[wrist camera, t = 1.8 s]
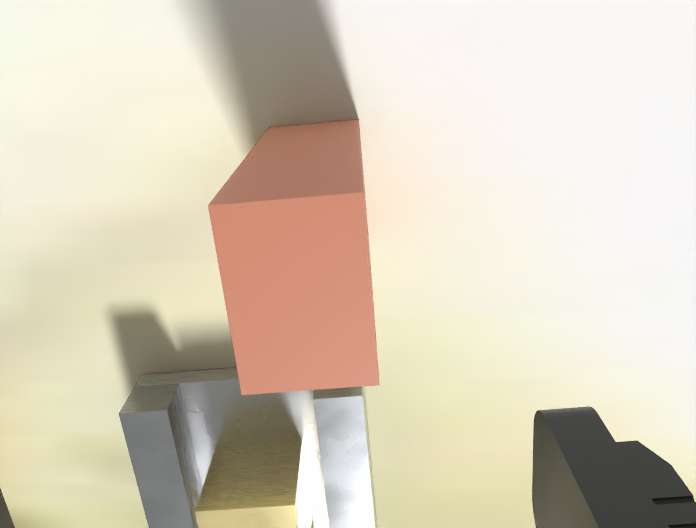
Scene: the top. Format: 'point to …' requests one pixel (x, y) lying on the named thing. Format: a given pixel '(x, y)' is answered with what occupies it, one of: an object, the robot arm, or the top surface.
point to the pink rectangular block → (298, 261)
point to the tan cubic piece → (256, 488)
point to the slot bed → (245, 442)
